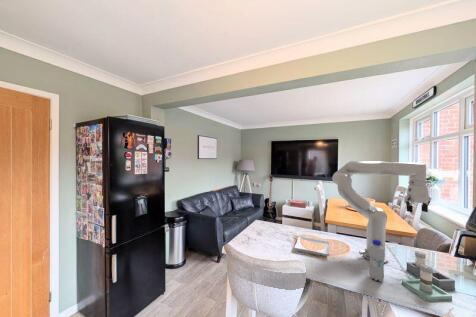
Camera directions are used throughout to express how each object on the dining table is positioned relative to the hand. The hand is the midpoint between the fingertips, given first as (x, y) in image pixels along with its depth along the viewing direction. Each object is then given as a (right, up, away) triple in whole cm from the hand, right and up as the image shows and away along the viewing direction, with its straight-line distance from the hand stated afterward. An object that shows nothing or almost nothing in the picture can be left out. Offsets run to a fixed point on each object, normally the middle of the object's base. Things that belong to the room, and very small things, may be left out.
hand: (417, 211), depth 117 cm
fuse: (-10, -30, -12) cm, 34 cm away
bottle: (-37, -30, -18) cm, 51 cm away
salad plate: (-58, -30, +15) cm, 67 cm away
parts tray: (-21, -30, -26) cm, 45 cm away
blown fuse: (-21, -30, -27) cm, 45 cm away
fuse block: (-9, -30, -17) cm, 36 cm away
